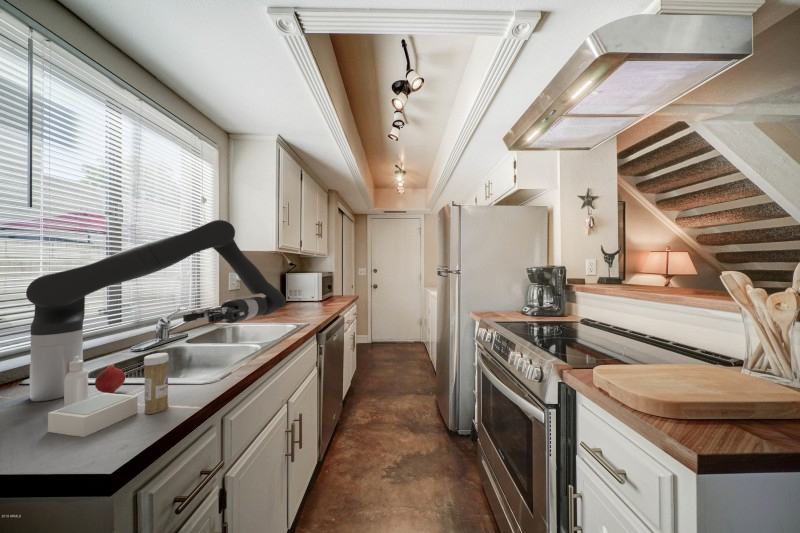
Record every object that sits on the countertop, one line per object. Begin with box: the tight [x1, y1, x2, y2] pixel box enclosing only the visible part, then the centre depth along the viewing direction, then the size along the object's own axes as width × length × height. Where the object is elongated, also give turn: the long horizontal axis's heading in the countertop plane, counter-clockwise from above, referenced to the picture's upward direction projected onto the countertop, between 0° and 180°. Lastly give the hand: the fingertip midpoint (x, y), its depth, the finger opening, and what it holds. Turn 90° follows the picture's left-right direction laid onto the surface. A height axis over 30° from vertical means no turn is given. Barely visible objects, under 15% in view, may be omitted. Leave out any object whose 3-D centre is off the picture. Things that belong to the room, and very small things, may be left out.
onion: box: [94, 363, 126, 394], centre depth 79 cm, size 6×6×8 cm
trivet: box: [47, 392, 139, 438], centre depth 64 cm, size 10×10×4 cm
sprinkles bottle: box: [143, 352, 169, 415], centre depth 70 cm, size 5×5×14 cm
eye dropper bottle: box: [63, 356, 89, 407], centre depth 73 cm, size 4×6×12 cm
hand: (196, 318), depth 80 cm, fingers open, 8 cm apart
